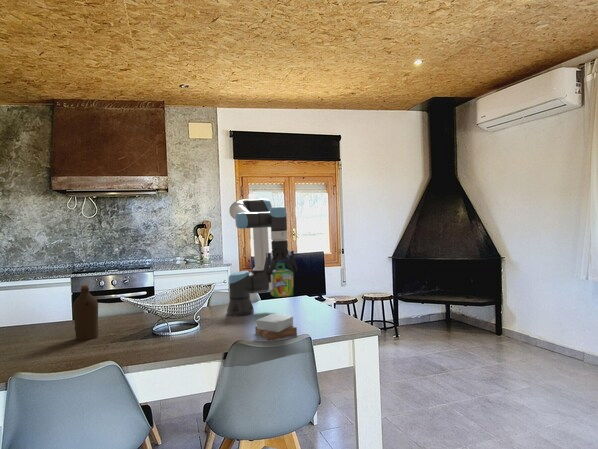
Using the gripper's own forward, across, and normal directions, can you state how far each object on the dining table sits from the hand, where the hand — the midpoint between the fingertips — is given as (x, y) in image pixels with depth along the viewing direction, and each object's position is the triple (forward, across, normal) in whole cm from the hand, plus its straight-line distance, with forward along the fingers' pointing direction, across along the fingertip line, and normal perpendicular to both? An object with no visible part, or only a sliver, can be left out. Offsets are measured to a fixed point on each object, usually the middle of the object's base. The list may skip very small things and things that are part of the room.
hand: (281, 287), depth 186 cm
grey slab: (+17, -4, 0) cm, 18 cm away
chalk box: (+4, 0, 0) cm, 4 cm away
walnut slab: (+21, -4, 0) cm, 22 cm away
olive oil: (+21, -77, +53) cm, 96 cm away
